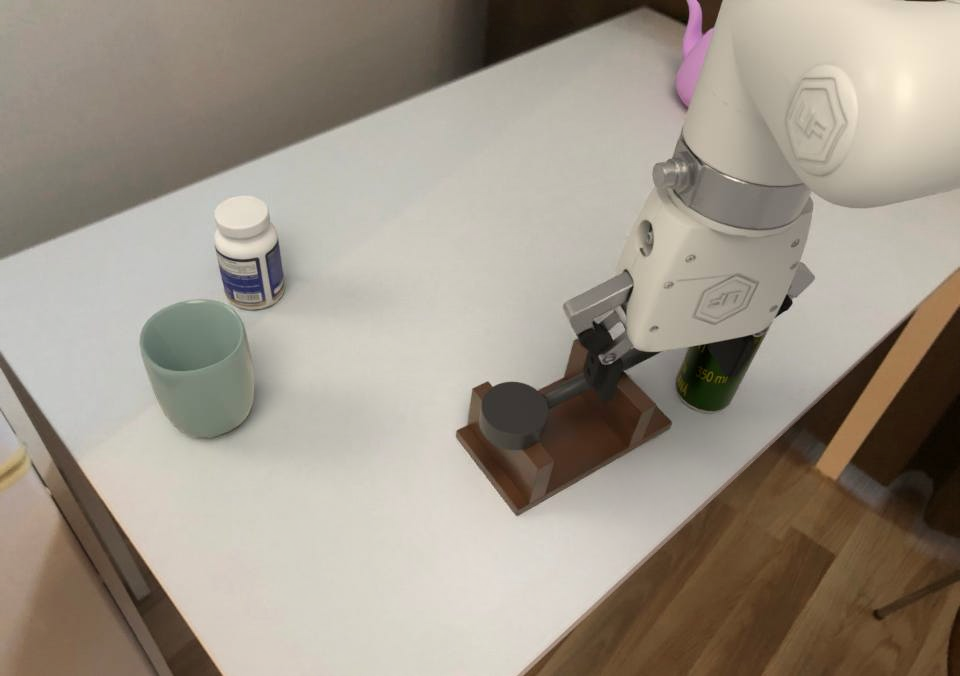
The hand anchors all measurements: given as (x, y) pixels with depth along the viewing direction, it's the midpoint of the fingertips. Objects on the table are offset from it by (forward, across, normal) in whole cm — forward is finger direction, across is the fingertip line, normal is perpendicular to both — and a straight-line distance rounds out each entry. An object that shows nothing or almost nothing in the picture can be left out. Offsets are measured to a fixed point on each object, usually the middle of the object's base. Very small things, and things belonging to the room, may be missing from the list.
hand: (660, 373), depth 56 cm
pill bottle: (+15, -26, +29) cm, 42 cm away
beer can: (+15, +12, +7) cm, 20 cm away
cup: (+15, -31, +15) cm, 38 cm away
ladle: (+8, -2, +6) cm, 11 cm away
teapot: (+15, +39, +53) cm, 67 cm away
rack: (+14, -2, +6) cm, 16 cm away
